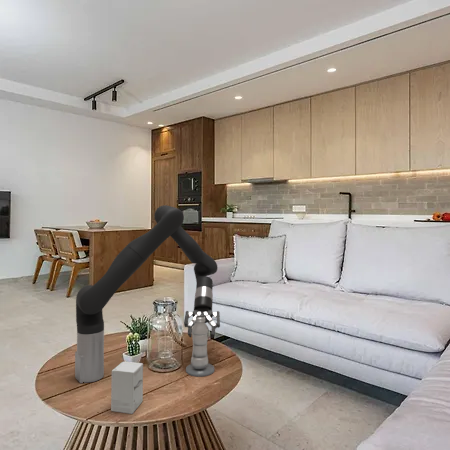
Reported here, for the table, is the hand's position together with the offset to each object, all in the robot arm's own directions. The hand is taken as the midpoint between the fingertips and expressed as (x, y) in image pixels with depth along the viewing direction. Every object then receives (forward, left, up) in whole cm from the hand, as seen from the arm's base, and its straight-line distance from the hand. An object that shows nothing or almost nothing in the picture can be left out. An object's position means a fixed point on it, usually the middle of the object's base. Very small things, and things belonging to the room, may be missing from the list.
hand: (201, 336), depth 138 cm
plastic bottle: (-1, 0, -12) cm, 12 cm away
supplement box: (-34, -7, -13) cm, 37 cm away
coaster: (-1, 0, -13) cm, 13 cm away
